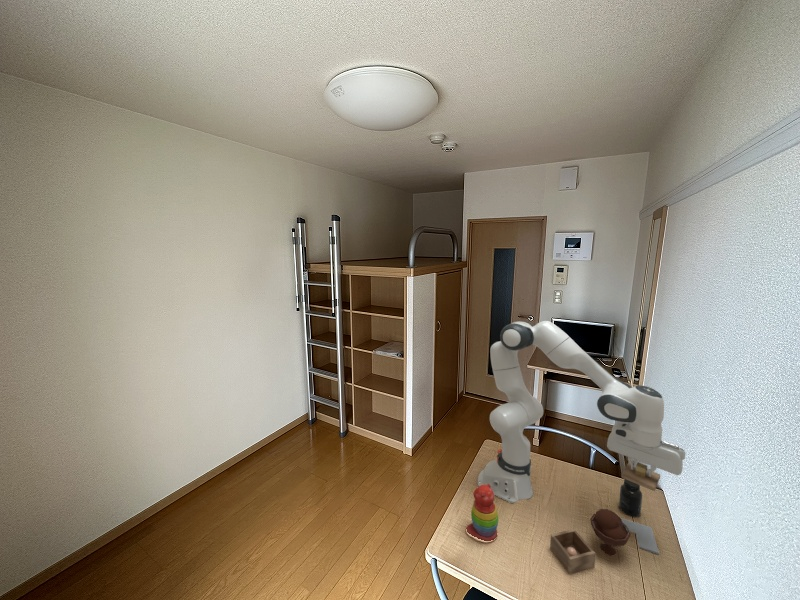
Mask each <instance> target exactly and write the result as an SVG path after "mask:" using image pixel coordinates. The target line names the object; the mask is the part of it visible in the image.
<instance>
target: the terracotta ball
mask: <svg viewBox="0 0 800 600" xmlns="http://www.w3.org/2000/svg"><path fill="white" fill-rule="evenodd" d="M566 551H567V552H568V554H569V555H570V556H575V555H577V552H576V550H575V549H574V548H572V547H568V548H567V550H566Z"/></svg>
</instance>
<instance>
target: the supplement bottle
mask: <svg viewBox="0 0 800 600" xmlns="http://www.w3.org/2000/svg"><path fill="white" fill-rule="evenodd" d="M623 479H624V478H623ZM623 481H624V482H623V484H621V485H620V488H619V502H618V507H619V509H620V510H621V512H623V513H624V514H625V515H626V516H629V517H633V518H637V517H640V516H641V513H642V502H643V492H642V490H640V489H641V487H640V486H641V485H638V484H636V483H634V482H631V481H629V480H626V479H624V480H623Z"/></svg>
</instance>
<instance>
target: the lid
mask: <svg viewBox="0 0 800 600" xmlns="http://www.w3.org/2000/svg"><path fill="white" fill-rule="evenodd" d="M636 464H637V465H636V471H634V470H631V464H630V463H629V461H628V462H627V464H626V466H625V468H624V469H623V471H622V473H621V476H620V477H621V478H622V479H626V480H629V481H631V482H634V483H636V484H638V485H640V486H641V487H643V488H646V489H648V490H651V491H653V492H655V491H656V489H657V486H658V484H659V482H660V479H661V474H660V473H658V472H655V471H654V472H652V476H651V477H649V476H647V475H645V474H646V469H648V464H645V463H642V462H640V461H638V462H637V463H636Z"/></svg>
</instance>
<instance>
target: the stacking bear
mask: <svg viewBox="0 0 800 600" xmlns="http://www.w3.org/2000/svg"><path fill="white" fill-rule="evenodd" d="M472 493H473V494H472V495H473V497H474V498H473V499H474V500H473V503H472V508H471V511H470V512H471V514H470V515H471V522H472V523H471V524H468V525H467V526H466V527H465V530H466V529H467V532H468V533H469V534H471V535H472V536H474V537H477V538H478V539H481V540H484V541H491V540H494V539H495V538H496V537H497V538H498V535H497V533H498V530H497V529H498V525H499V513H498V508H497V505H496V504H495V502H494V501H495V496H494V492H493V490H492V489H491V486H490V484H487V485H480V486H479V487H476V488H474V489H473V492H472ZM497 538H496V539H497Z"/></svg>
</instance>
